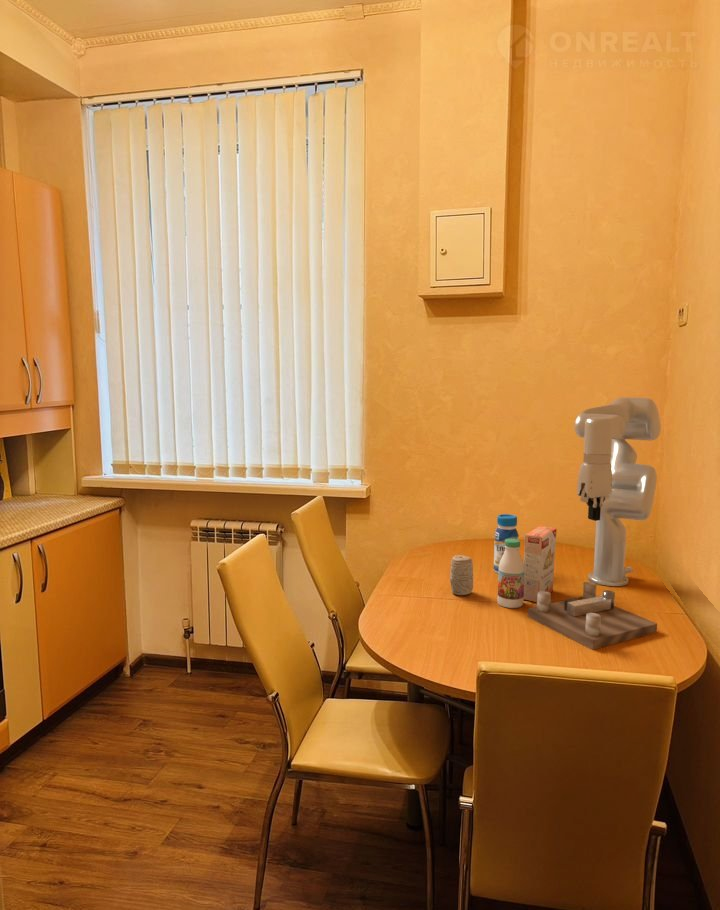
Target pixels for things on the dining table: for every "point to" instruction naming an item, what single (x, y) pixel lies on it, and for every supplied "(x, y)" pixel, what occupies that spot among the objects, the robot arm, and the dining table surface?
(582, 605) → the hinged leg
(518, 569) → the milk bottle
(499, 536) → the beverage bottle
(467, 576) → the carving
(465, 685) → the dining table surface
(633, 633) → the brown board with pegs
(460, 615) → the dining table surface
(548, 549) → the cracker box
